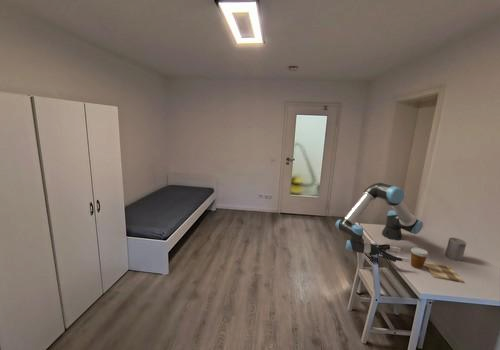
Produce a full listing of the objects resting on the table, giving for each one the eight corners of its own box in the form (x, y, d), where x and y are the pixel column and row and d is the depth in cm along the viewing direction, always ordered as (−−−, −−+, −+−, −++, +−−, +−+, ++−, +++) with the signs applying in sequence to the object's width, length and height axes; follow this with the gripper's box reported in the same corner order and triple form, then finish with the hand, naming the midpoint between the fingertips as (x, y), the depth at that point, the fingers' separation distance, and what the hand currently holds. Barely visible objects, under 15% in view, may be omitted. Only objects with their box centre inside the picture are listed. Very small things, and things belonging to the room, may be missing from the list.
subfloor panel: (422, 262, 161) (422, 261, 161) (449, 267, 157) (449, 266, 156) (433, 277, 145) (433, 276, 145) (464, 283, 141) (464, 281, 140)
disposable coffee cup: (405, 262, 161) (408, 246, 158) (418, 262, 161) (422, 247, 158) (414, 270, 152) (417, 254, 149) (428, 271, 151) (432, 254, 149)
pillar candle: (444, 252, 176) (448, 234, 173) (461, 256, 171) (465, 238, 168) (445, 258, 169) (450, 239, 166) (463, 262, 163) (468, 243, 160)
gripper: (365, 245, 175) (397, 250, 170) (372, 263, 152) (409, 270, 146) (367, 236, 174) (398, 241, 168) (374, 253, 151) (411, 259, 145)
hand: (403, 254), depth 157 cm, fingers open, 13 cm apart
